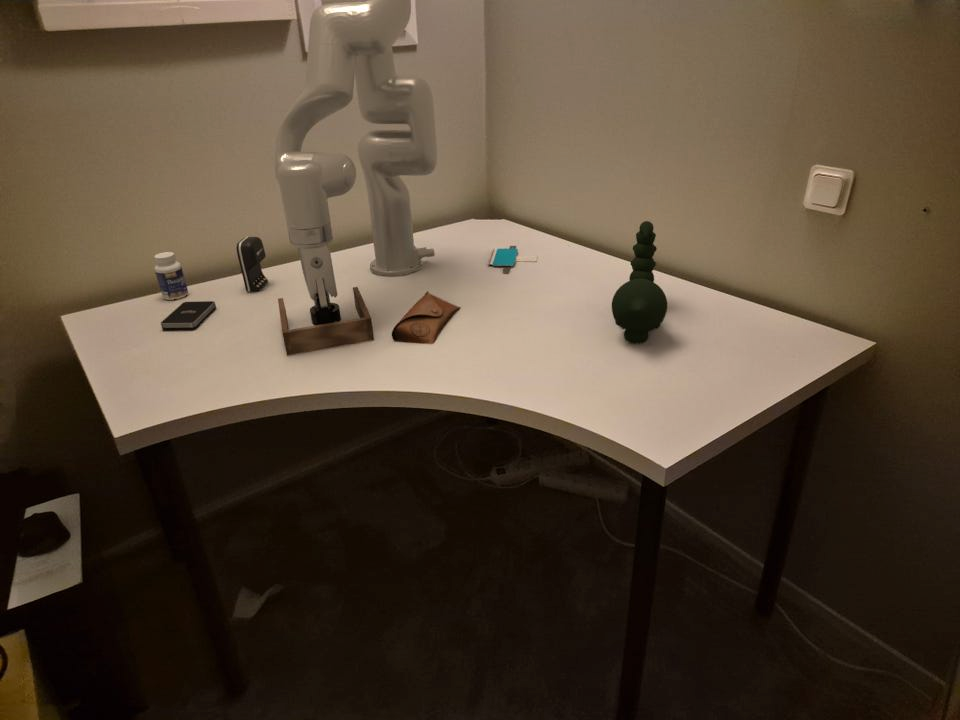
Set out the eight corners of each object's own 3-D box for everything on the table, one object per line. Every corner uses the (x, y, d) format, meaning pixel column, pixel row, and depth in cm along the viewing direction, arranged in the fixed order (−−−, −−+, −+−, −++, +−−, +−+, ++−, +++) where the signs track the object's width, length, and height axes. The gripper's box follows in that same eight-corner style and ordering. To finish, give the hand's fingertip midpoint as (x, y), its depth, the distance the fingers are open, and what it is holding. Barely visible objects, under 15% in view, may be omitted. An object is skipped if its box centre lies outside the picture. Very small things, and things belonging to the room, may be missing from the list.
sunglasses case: (434, 345, 115) (414, 315, 113) (405, 359, 118) (385, 330, 116) (462, 306, 130) (445, 279, 128) (436, 319, 134) (418, 293, 132)
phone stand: (534, 276, 146) (534, 269, 145) (483, 275, 147) (483, 269, 146) (538, 248, 163) (538, 242, 162) (493, 248, 164) (493, 242, 164)
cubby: (360, 306, 132) (357, 286, 130) (374, 340, 118) (371, 318, 116) (282, 319, 128) (277, 298, 126) (286, 355, 114) (282, 333, 112)
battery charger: (261, 293, 141) (251, 243, 136) (245, 293, 141) (234, 244, 136) (273, 281, 147) (263, 234, 142) (257, 281, 147) (246, 234, 142)
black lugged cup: (300, 332, 123) (298, 319, 121) (314, 311, 131) (312, 298, 130) (340, 332, 122) (337, 318, 121) (351, 311, 131) (349, 298, 130)
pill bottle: (172, 302, 138) (160, 260, 133) (158, 298, 140) (145, 256, 136) (194, 294, 142) (182, 252, 137) (179, 290, 144) (167, 249, 140)
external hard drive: (218, 309, 134) (215, 301, 133) (195, 332, 125) (192, 323, 124) (186, 310, 135) (184, 301, 134) (161, 333, 125) (158, 323, 124)
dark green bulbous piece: (615, 308, 131) (605, 355, 108) (622, 215, 123) (613, 244, 101) (662, 311, 129) (663, 360, 106) (673, 216, 121) (676, 247, 98)
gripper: (337, 242, 106) (351, 339, 115) (327, 220, 119) (340, 309, 128) (291, 248, 104) (309, 346, 113) (286, 225, 117) (303, 315, 126)
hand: (326, 326), depth 120 cm, fingers closed
